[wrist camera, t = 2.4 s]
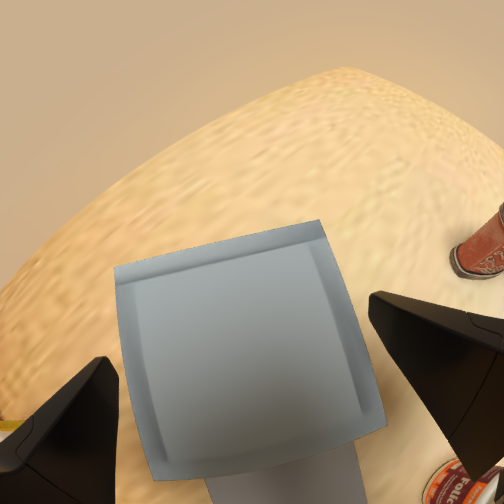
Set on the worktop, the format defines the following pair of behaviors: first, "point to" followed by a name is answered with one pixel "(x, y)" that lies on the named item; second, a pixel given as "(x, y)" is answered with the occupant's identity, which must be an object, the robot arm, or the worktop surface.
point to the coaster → (296, 481)
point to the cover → (244, 354)
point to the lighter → (481, 251)
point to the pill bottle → (461, 486)
